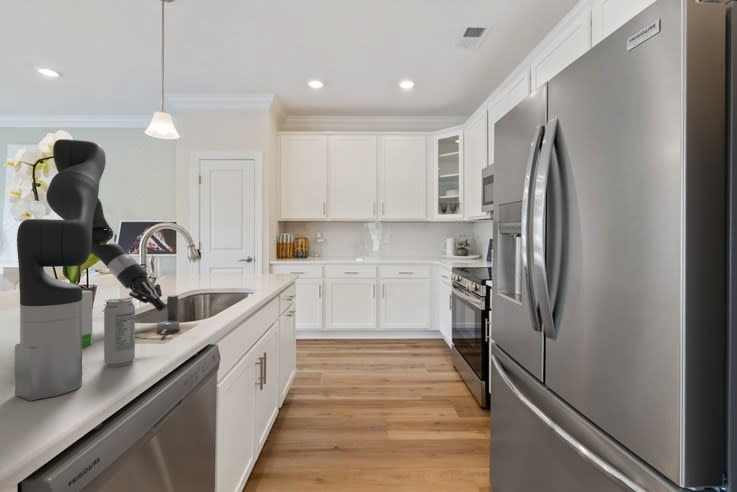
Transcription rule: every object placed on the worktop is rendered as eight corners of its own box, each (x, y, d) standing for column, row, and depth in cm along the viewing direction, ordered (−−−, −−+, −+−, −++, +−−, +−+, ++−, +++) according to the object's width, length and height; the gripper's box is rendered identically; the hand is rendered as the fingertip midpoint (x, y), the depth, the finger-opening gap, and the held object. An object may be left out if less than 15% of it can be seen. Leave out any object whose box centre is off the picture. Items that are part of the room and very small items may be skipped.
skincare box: (62, 358, 90) (62, 294, 90) (40, 356, 92) (40, 293, 91) (94, 348, 99) (94, 290, 98) (73, 346, 100) (73, 289, 100)
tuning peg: (163, 323, 121) (163, 295, 121) (183, 322, 123) (183, 295, 123) (150, 338, 103) (150, 306, 103) (174, 336, 105) (174, 305, 105)
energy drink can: (124, 357, 92) (125, 297, 91) (140, 361, 89) (140, 299, 89) (98, 365, 86) (98, 301, 86) (114, 369, 83) (114, 303, 83)
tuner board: (164, 347, 100) (164, 342, 100) (115, 347, 100) (115, 342, 100) (198, 327, 122) (198, 323, 122) (158, 327, 122) (158, 323, 122)
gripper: (120, 264, 115) (158, 304, 114) (148, 261, 128) (182, 298, 127) (104, 281, 115) (141, 321, 115) (133, 276, 128) (167, 312, 128)
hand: (163, 309), depth 121 cm, fingers closed
